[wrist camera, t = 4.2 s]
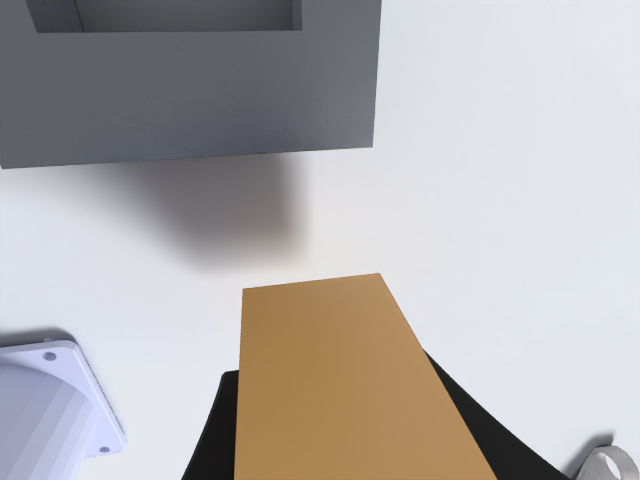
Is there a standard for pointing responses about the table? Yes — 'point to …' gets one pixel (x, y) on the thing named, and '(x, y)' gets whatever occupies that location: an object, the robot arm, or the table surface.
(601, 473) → the wrench
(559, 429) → the table surface
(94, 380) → the robot arm
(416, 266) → the table surface
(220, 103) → the square hole plate
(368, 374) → the square block
